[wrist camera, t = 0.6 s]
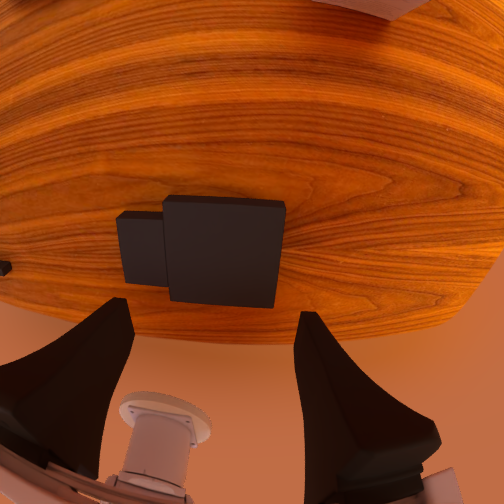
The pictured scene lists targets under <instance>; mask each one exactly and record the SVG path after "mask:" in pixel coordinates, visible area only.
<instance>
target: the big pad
mask: <svg viewBox="0 0 504 504" xmlns="http://www.w3.org/2000/svg"><path fill="white" fill-rule="evenodd" d="M11 269H12V267H11V264H10V262H7V261H1V260H0V276H5V275H6V274H7V273H8V272H9V271H10V270H11Z"/></svg>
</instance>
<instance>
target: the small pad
mask: <svg viewBox="0 0 504 504" xmlns="http://www.w3.org/2000/svg"><path fill="white" fill-rule="evenodd" d="M162 204H163V212H149V211H124V212H123V213H121V214H120V215H119V216H118V217H117V218H116V224H117V232H118V239H119V246H120V253H121V259H122V265H123V271H124V277H125V282H126V283H130V284H140V285H150V286H160V287H169V294H170V301H176V302H187V303H198V304H210V305H223V306H238V307H254V308H274V302H275V294H276V287H277V280H278V272H279V264H280V256H281V248H282V240H283V232H284V224H285V215H286V207H285V204H284V201H277V200H263V199H249V198H232V197H213V196H190V195H168V196H167V198H166V199H165V200H164V201H163V202H162Z"/></svg>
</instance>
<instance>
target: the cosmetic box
mask: <svg viewBox="0 0 504 504" xmlns="http://www.w3.org/2000/svg"><path fill="white" fill-rule="evenodd" d="M312 1H316V2H322V3H327V4H332V5H336V6H341V7H345V8H349V9H353V10H357V11H361V12H364V13H368V14H371V15H374V16H377V17H381V18H384V19H387V20H389V21H394V20H395V19H397V18H399V17H401V16H402V15H404V14H406V13H408V12H410V11H411V10H413V9H415V8H417V7H419V6H421V5H423V4H425V3H426V2H429V1H430V0H312Z"/></svg>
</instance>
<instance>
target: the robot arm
mask: <svg viewBox="0 0 504 504" xmlns="http://www.w3.org/2000/svg"><path fill="white" fill-rule="evenodd" d="M134 336H135V332H134V328H133V324H132V320H131V316H130V312H129V308H128V304H127V299H125V298H117V297H113V298H112V299H111V300H109V301H108V302H106V303H105V304H104V305H102V306H101V307H100V308H99V309H97V310H96V311H95V312H94V313H92V314H91V315H90V316H88V317H87V318H86V319H84V320H83V321H82V322H81V323H79V324H78V325H77V326H75V327H74V328H72V329H71V330H70V331H68V332H67V333H65V334H64V335H63V336H61V337H60V338H58V339H57V340H55V341H54V342H52V343H50V344H48V345H47V346H45V347H43V348H41V349H40V350H38V351H36V352H33V353H31V354H29V355H27V356H25V357H23V358H21V359H18V360H16V361H13V362H10V363H8V364H5V365H2V366H0V492H1V493H2V494H4V495H5V496H6V497H7V498H9V499H10V500H11V501H13V502H14V503H15V504H194V501H193V500H192V498H191V497H190V496H189V495H186V494H185V491H186V489H184V488H183V484H184V482H185V479H186V471H187V465H188V459H189V452H190V447H192V448H197V446H198V444H197V440H196V436H195V431H194V426H193V422H192V418H191V417H190V416H188V415H181V414H174V413H167V412H161V411H156V410H150V409H145V408H140V407H135V406H130V405H129V406H128V408H127V409H128V411H129V413H130V415H131V417H132V419H133V421H134V422H135V425H134V429H133V432H132V436H131V439H130V443H129V446H128V450H127V454H126V458H125V461H124V465H123V469H122V471H120V472H119V476H117V475H115V474H113V475H112V476H109V477H108V478H107V480H106V482H105V484H104V483H101V482H98V481H95V480H96V479H98V472H99V458H100V449H101V442H102V436H103V430H104V425H105V420H106V416H107V412H108V408H109V404H110V401H111V398H112V395H113V392H114V389H115V387H116V385H117V383H118V380H119V378H120V376H121V373H122V371H123V369H124V366H125V364H126V361H127V359H128V357H129V354H130V351H131V347H132V344H133V340H134ZM294 364H295V373H296V378H297V384H298V390H299V395H300V400H301V407H302V412H303V420H304V438H305V494H304V496H305V497H304V504H463V500H462V496H461V493H460V489H459V486H458V483H457V479H456V476H455V473H454V469H453V468H452V467H450V468H448V469H445V470H443V471H440V472H438V473H435V474H433V475H430V476H427V477H425V478H423V479H421V475H420V473H422V472H423V466H422V462H424V461H425V460H426V459H428V458H429V457H430V456H431V455H432V454H434V453H435V452H436V451H437V450H438V449H439V447H440V445H441V444H442V442H441V439H440V436H439V433H438V430H437V428H436V425H435V423H434V421H433V420H431V419H429V418H427V417H425V416H423V415H421V414H419V413H417V412H415V411H413V410H412V409H410V408H408V407H407V406H406V405H404V404H402V403H401V402H399V401H398V400H396V399H395V398H394V397H392V396H391V395H390V394H388V393H387V392H386V391H384V390H383V389H382V388H381V387H380V386H378V385H377V384H376V383H375V382H374V381H373V380H371V379H370V378H369V377H368V376H367V375H366V374H365V373H364V372H363V371H362V370H361V369H360V368H359V367H358V366H357V365H356V363H355V362H354V361H353V360H352V359H351V358H350V357H349V355H348V354H347V353H346V352H345V351H344V349H343V348H342V347H341V346H340V344H339V343H338V342H337V340H336V339H335V338H334V336H333V335H332V334H331V332H330V331H329V329H328V328H327V327H326V325H325V324H324V322H323V321H322V319H321V318H320V316H319V315H318V314H317V312H308V311H301V314H300V319H299V324H298V328H297V333H296V338H295V342H294ZM77 491H79V492H81V493H83V494H86V495H88V496H91V497H94V498H96V499H99V500H101V501H100V503H98V502H96V501H94V500H91V499H89V498H87V497H85V496H82V495H80V494H79V493H78V492H77Z"/></svg>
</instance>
